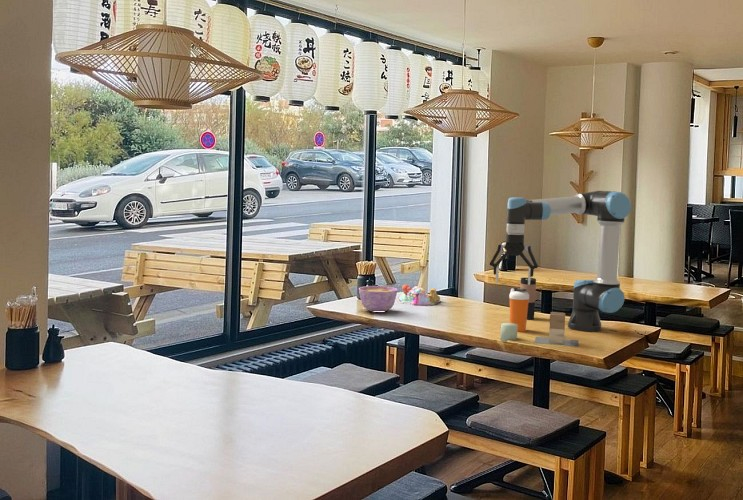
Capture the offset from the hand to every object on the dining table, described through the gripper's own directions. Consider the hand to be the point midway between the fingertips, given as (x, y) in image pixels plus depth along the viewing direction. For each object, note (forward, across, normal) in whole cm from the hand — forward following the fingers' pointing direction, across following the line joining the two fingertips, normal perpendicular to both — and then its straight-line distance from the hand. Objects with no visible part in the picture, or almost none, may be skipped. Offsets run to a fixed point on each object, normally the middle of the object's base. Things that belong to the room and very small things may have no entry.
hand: (512, 283), depth 327 cm
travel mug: (+25, +3, +54) cm, 60 cm away
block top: (+18, +19, +1) cm, 26 cm away
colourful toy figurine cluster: (+26, -58, +80) cm, 102 cm away
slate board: (+25, +19, +1) cm, 32 cm away
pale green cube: (+25, -1, 0) cm, 25 cm away
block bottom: (+24, +19, +1) cm, 31 cm away
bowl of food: (+25, -71, +44) cm, 87 cm away
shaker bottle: (+25, +2, +19) cm, 32 cm away
